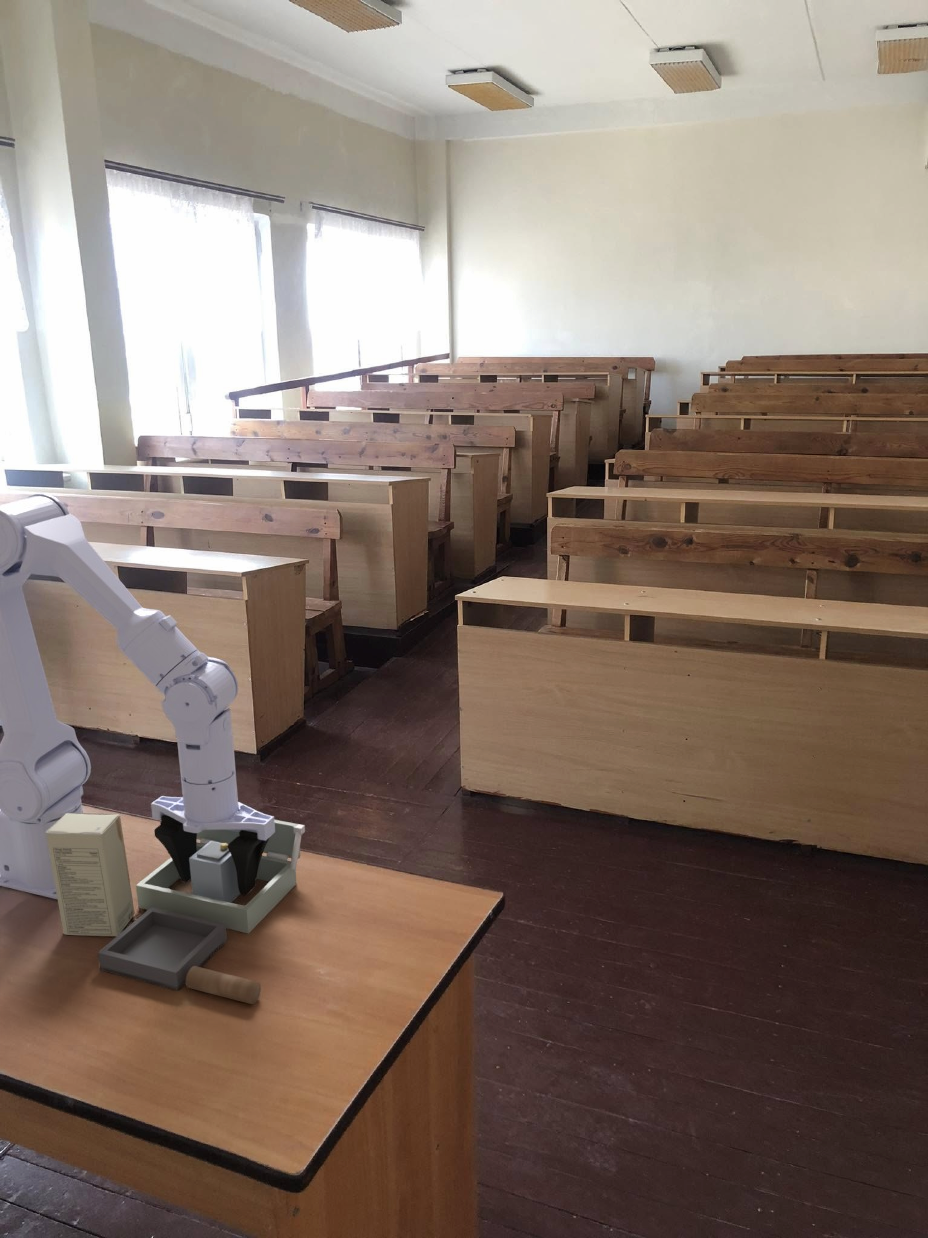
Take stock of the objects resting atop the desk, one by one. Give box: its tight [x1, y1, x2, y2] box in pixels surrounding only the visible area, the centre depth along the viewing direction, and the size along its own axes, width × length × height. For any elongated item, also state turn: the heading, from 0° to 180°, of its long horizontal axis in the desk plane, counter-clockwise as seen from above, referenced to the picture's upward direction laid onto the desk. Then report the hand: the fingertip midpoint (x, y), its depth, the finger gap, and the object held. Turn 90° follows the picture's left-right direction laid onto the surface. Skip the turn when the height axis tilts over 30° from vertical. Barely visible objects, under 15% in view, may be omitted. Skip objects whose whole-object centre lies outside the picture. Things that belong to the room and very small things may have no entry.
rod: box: [185, 966, 262, 1005], centre depth 89 cm, size 7×2×2 cm, turn 70°
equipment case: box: [135, 819, 306, 934], centre depth 104 cm, size 15×11×7 cm
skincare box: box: [46, 812, 136, 937], centre depth 98 cm, size 6×4×12 cm
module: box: [189, 841, 241, 903], centre depth 104 cm, size 4×4×6 cm
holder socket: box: [97, 907, 228, 991], centre depth 94 cm, size 9×8×2 cm
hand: (218, 884), depth 104 cm, fingers open, 7 cm apart
